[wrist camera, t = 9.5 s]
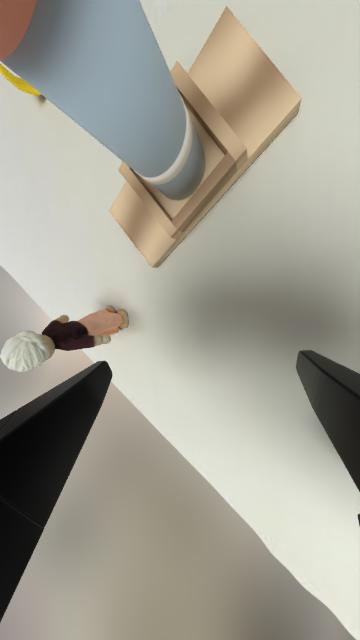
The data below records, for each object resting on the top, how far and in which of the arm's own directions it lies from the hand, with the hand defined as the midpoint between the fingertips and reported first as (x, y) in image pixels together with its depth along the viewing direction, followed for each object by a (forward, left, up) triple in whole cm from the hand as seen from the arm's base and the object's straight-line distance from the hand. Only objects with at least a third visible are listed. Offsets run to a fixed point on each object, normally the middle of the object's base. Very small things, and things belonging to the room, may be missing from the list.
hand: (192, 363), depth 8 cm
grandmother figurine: (+14, +5, -11) cm, 19 cm away
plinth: (+7, -12, -11) cm, 18 cm away
